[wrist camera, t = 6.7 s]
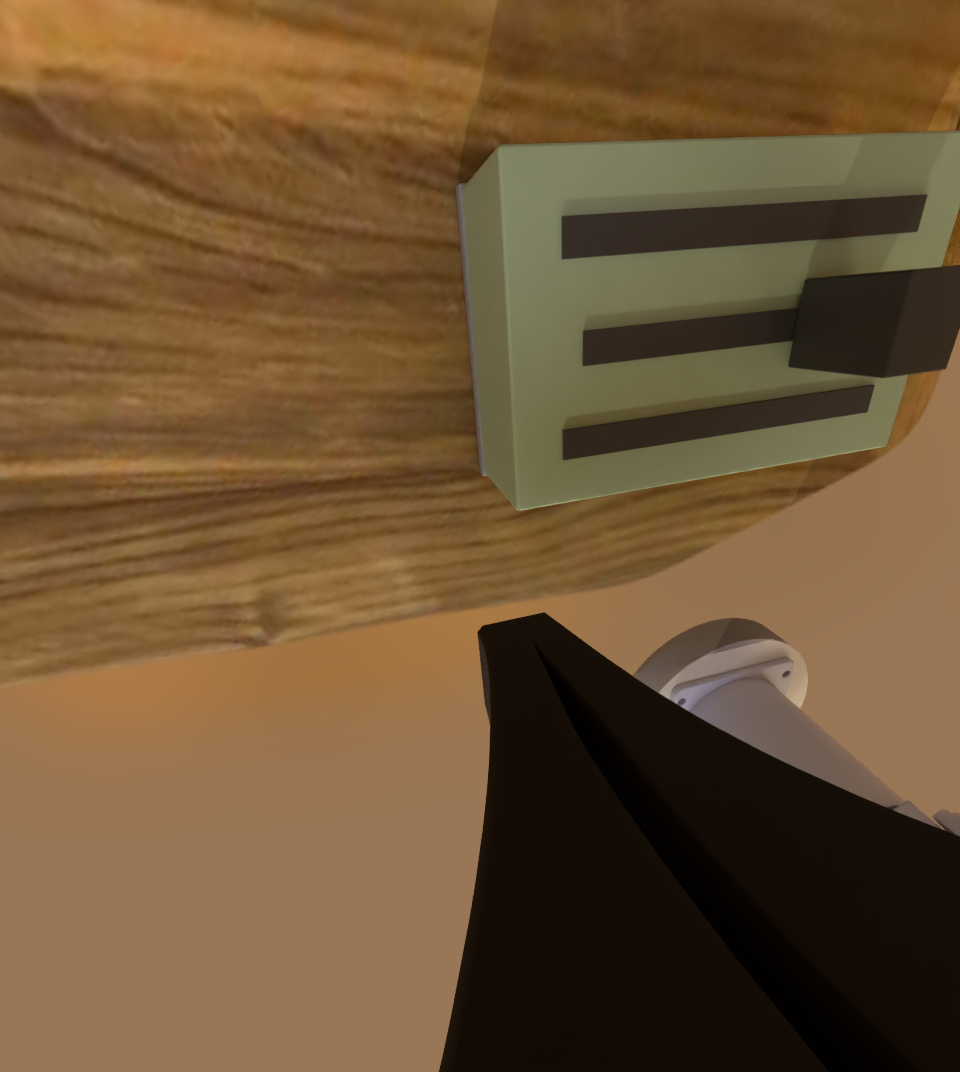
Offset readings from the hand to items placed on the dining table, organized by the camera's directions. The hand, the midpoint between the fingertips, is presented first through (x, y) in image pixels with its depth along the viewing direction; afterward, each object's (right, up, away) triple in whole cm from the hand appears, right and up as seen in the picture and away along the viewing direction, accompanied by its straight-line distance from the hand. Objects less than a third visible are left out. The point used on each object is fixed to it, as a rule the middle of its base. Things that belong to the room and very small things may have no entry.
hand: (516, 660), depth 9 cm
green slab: (+6, +10, +9) cm, 15 cm away
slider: (+10, +9, +5) cm, 14 cm away
